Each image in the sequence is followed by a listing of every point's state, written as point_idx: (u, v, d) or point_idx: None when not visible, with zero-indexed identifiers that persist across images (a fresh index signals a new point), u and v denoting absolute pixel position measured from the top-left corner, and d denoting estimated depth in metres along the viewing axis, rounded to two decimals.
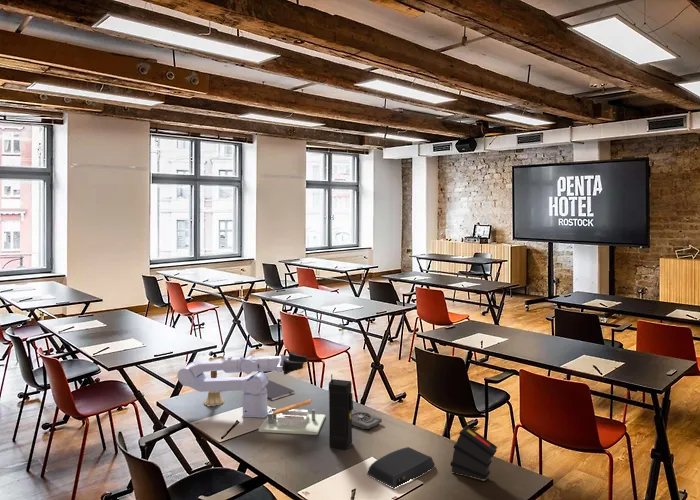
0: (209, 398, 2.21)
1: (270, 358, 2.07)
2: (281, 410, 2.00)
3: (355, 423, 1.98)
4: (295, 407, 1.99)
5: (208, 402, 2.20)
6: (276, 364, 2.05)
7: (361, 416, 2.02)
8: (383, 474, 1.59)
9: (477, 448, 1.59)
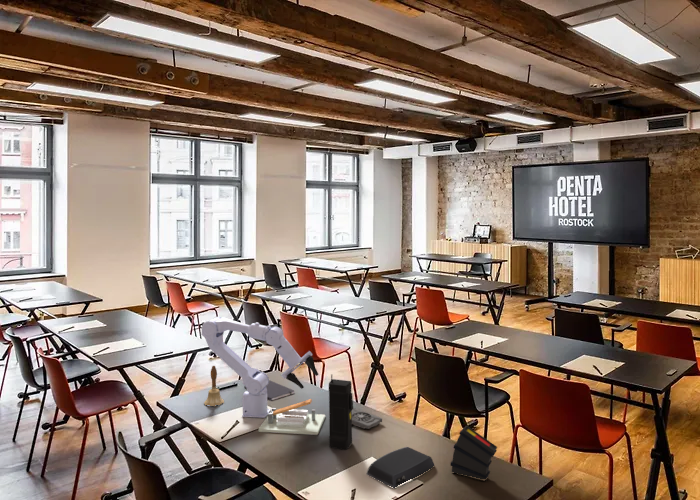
0: (209, 398, 2.21)
1: (288, 355, 2.04)
2: (281, 410, 2.00)
3: (356, 423, 1.98)
4: (295, 407, 1.99)
5: (208, 402, 2.20)
6: (288, 364, 2.05)
7: (362, 416, 2.02)
8: (383, 474, 1.59)
9: (477, 448, 1.59)
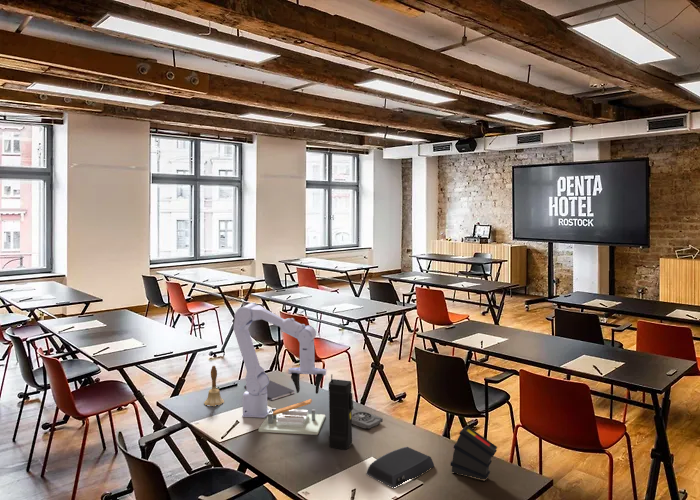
0: (209, 398, 2.21)
1: (302, 360, 2.02)
2: (281, 410, 2.00)
3: (356, 423, 1.99)
4: (295, 407, 1.99)
5: (208, 402, 2.20)
6: None
7: (362, 416, 2.02)
8: (383, 474, 1.59)
9: (477, 448, 1.59)
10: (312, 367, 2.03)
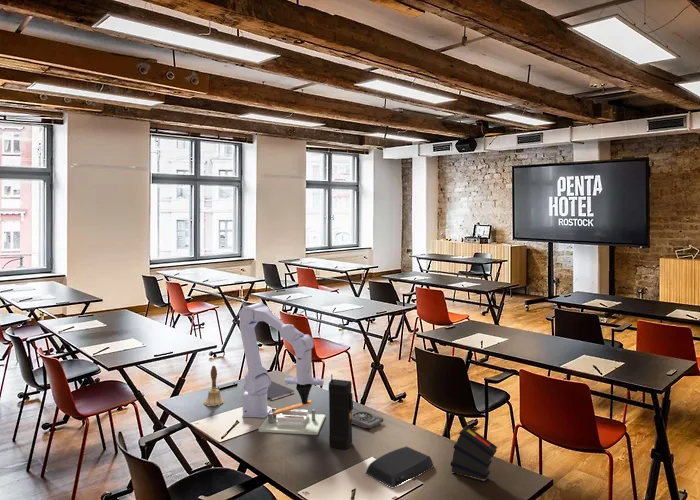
0: (209, 398, 2.21)
1: (299, 370, 1.96)
2: (281, 410, 2.00)
3: (357, 422, 1.99)
4: (295, 408, 1.99)
5: (208, 402, 2.20)
6: None
7: (363, 416, 2.02)
8: (382, 473, 1.60)
9: (477, 448, 1.59)
10: (309, 377, 1.97)
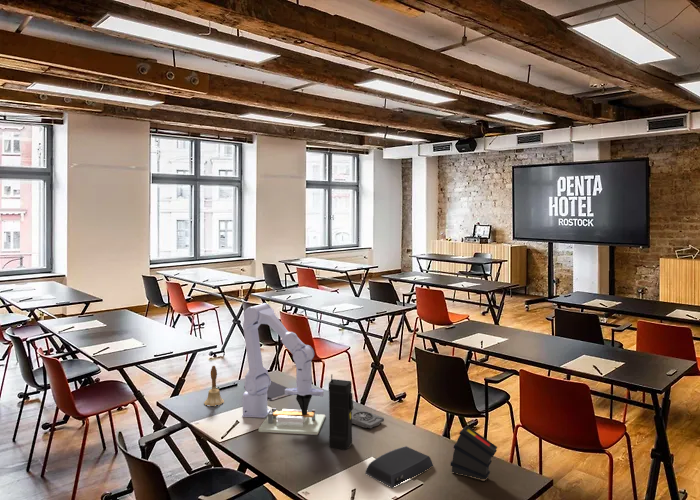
0: (209, 398, 2.21)
1: (299, 381, 1.97)
2: (282, 414, 2.00)
3: (357, 422, 1.99)
4: (297, 415, 1.99)
5: (208, 402, 2.20)
6: None
7: (363, 415, 2.03)
8: (381, 473, 1.60)
9: (477, 448, 1.59)
10: (309, 388, 1.98)
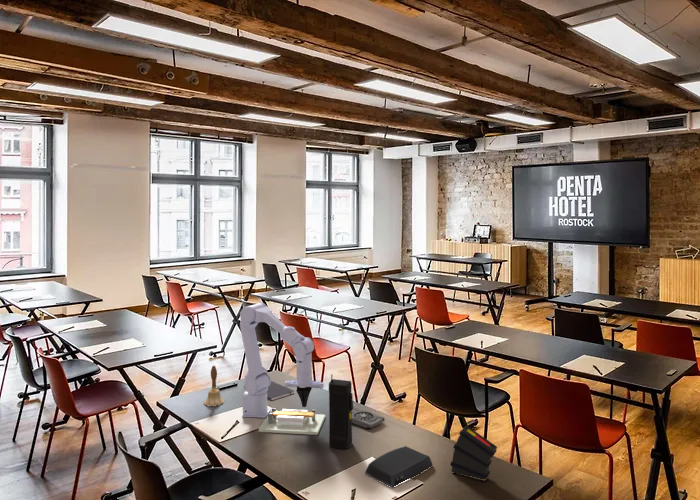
0: (209, 398, 2.21)
1: (299, 373, 1.97)
2: (282, 414, 2.00)
3: (358, 422, 1.99)
4: (297, 415, 1.99)
5: (208, 402, 2.20)
6: None
7: (364, 415, 2.03)
8: (381, 473, 1.60)
9: (477, 448, 1.59)
10: (309, 380, 1.98)
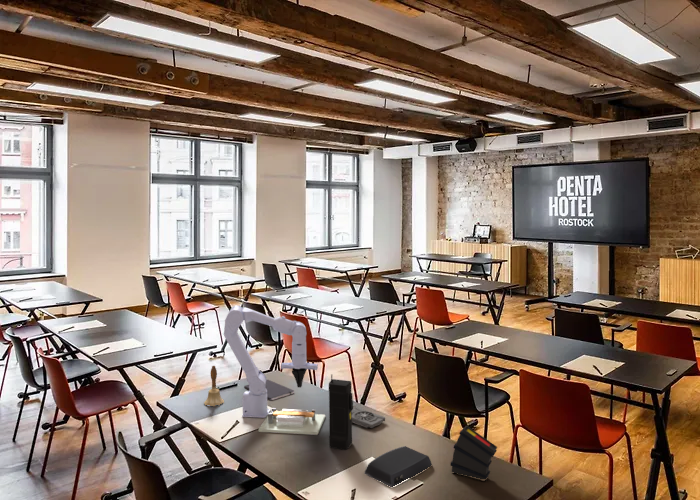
0: (209, 398, 2.21)
1: (294, 355, 2.09)
2: (282, 414, 2.00)
3: (359, 422, 1.99)
4: (297, 415, 1.99)
5: (208, 402, 2.20)
6: (292, 360, 2.11)
7: (364, 415, 2.03)
8: (381, 473, 1.60)
9: (477, 448, 1.59)
10: (304, 362, 2.09)
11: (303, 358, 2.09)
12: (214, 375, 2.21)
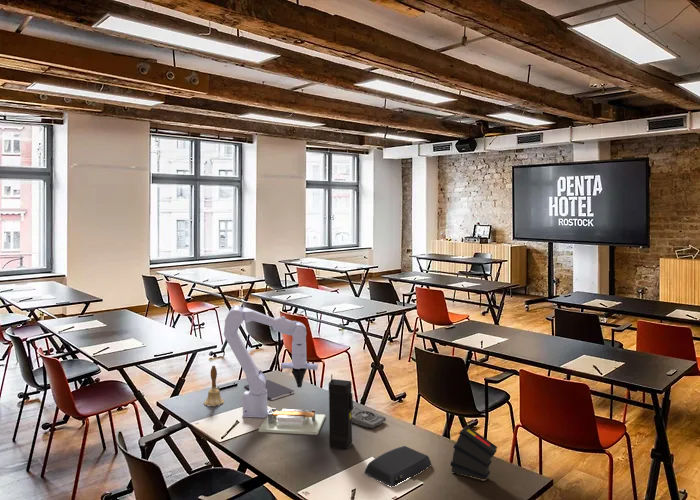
0: (209, 398, 2.21)
1: (294, 355, 2.09)
2: (282, 414, 2.00)
3: (359, 422, 1.99)
4: (297, 415, 1.99)
5: (208, 402, 2.20)
6: (292, 360, 2.11)
7: (365, 415, 2.03)
8: (380, 473, 1.60)
9: (477, 448, 1.59)
10: (304, 362, 2.09)
11: (303, 358, 2.09)
12: (214, 375, 2.21)
